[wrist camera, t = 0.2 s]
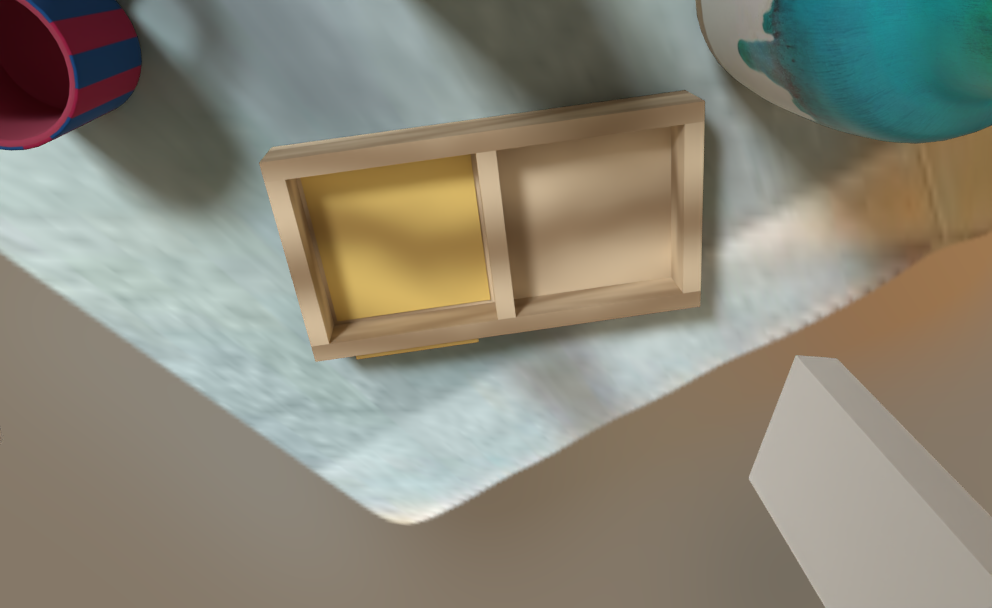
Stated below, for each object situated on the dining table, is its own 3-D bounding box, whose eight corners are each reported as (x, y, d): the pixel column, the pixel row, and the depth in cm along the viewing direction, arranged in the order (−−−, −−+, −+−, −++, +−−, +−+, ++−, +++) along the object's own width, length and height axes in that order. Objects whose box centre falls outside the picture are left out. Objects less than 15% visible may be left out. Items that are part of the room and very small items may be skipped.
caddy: (271, 147, 36) (259, 162, 33) (685, 90, 36) (704, 101, 34) (324, 339, 41) (316, 366, 39) (683, 288, 42) (700, 311, 39)
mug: (-31, 55, 33) (-135, 79, 27) (61, -132, 30) (-33, -153, 24) (103, 142, 35) (35, 182, 29) (202, -24, 32) (148, -18, 26)
